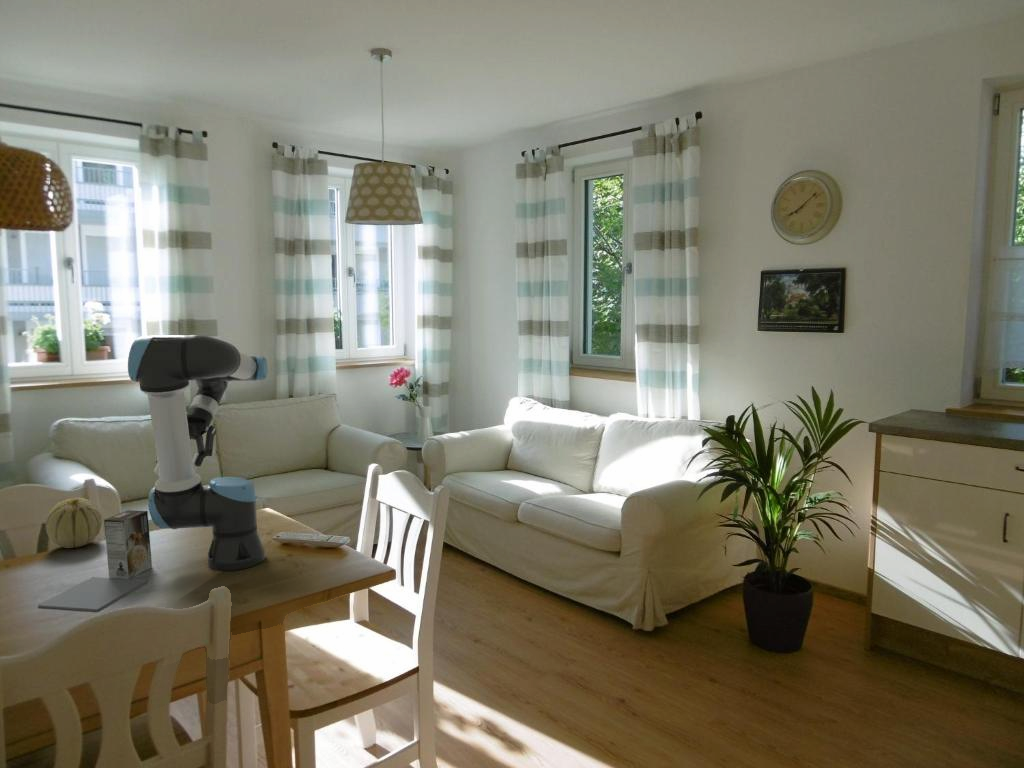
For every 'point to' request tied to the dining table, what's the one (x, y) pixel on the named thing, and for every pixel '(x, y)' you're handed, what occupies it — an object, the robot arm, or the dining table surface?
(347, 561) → the dining table surface
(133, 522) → the coffee box
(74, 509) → the cantaloupe
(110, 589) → the slate mat
